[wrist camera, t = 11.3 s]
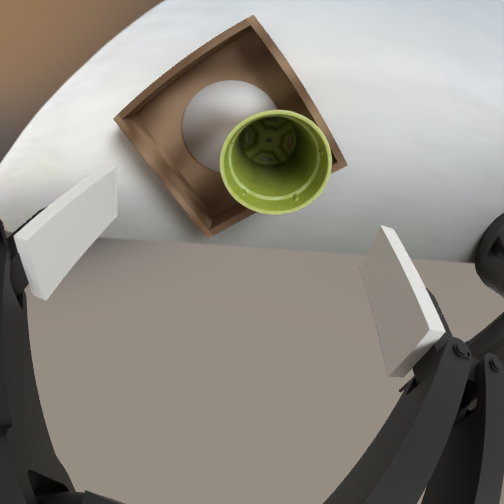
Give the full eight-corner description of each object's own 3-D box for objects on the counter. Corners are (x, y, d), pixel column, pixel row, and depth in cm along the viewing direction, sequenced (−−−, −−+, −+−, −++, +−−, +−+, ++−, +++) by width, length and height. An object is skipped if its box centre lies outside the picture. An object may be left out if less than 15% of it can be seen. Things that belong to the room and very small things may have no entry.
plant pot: (317, 103, 27) (341, 119, 20) (304, 181, 33) (320, 219, 26) (229, 94, 27) (222, 105, 20) (224, 175, 32) (217, 211, 26)
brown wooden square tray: (339, 153, 31) (347, 165, 28) (214, 220, 38) (207, 238, 34) (256, 22, 23) (253, 14, 20) (131, 111, 30) (113, 118, 26)
